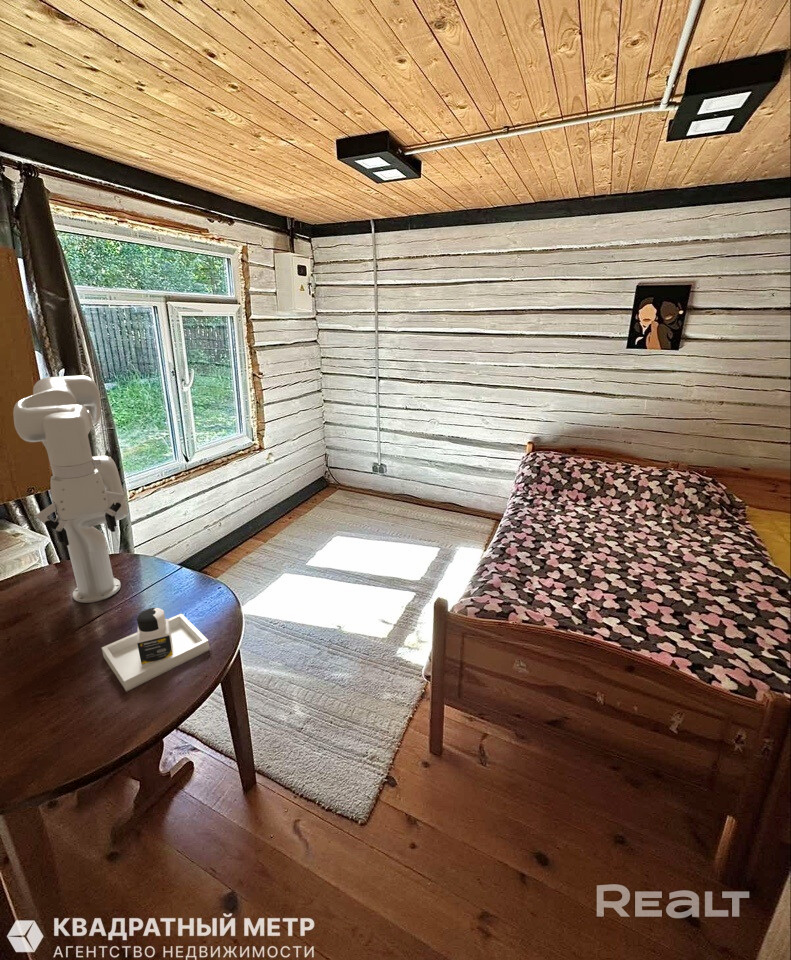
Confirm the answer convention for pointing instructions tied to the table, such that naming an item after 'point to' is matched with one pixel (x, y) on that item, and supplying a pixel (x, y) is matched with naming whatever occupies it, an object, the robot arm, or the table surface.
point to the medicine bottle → (153, 636)
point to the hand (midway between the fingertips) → (89, 536)
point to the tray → (133, 673)
